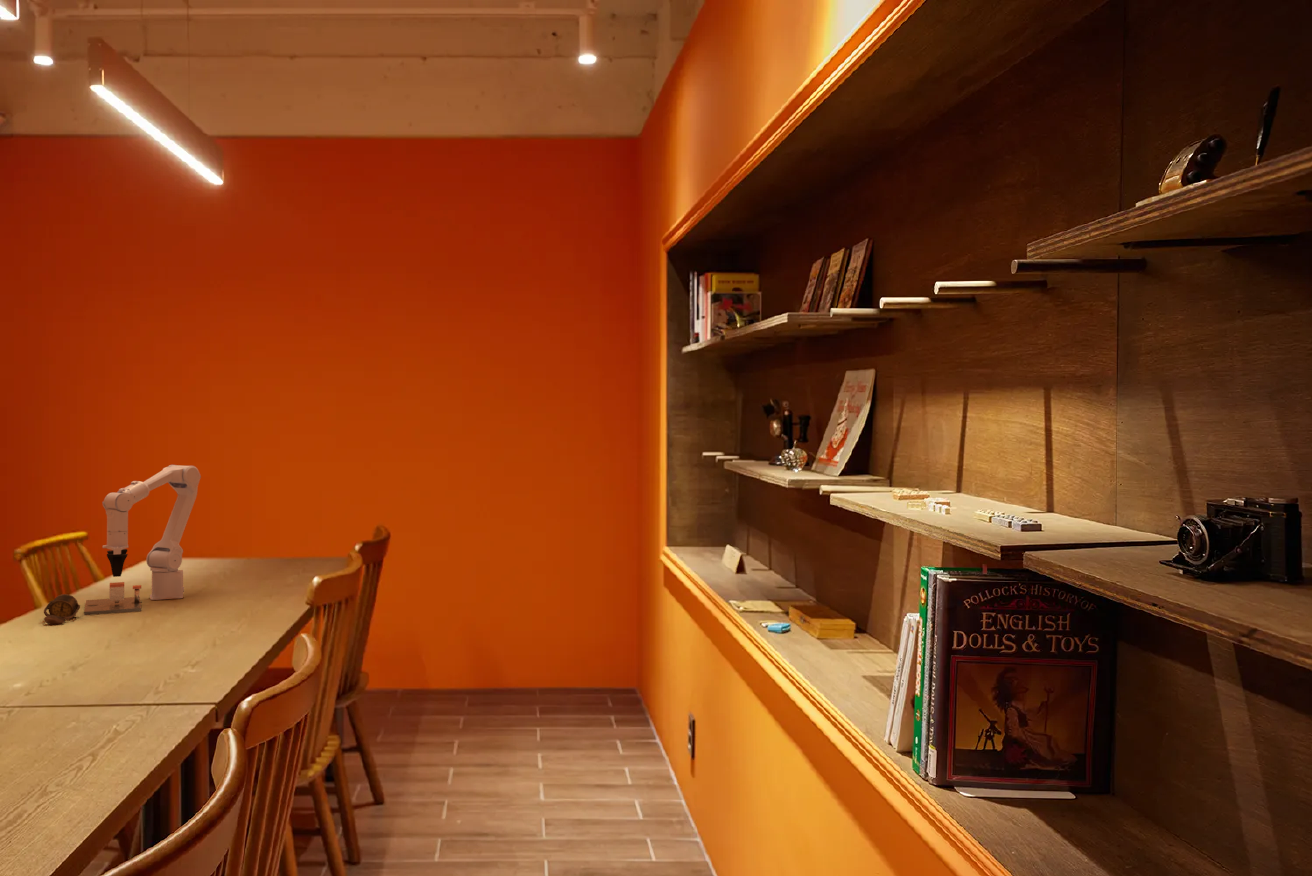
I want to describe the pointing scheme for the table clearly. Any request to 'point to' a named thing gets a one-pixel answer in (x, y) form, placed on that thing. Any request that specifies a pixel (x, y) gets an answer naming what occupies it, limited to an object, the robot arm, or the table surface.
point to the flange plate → (114, 604)
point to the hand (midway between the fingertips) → (117, 574)
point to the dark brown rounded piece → (61, 609)
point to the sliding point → (116, 591)
